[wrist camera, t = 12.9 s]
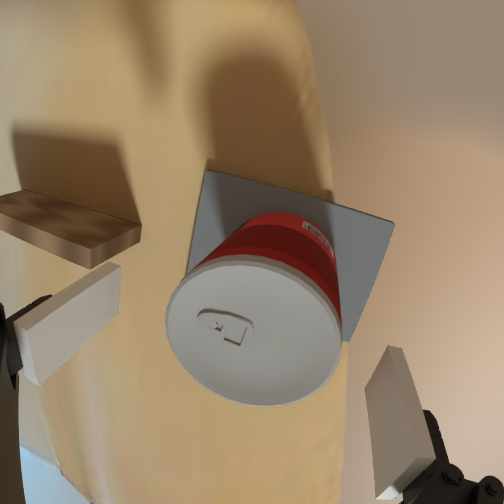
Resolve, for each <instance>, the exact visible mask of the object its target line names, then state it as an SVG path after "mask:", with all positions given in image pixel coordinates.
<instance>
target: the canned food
mask: <svg viewBox="0 0 504 504" xmlns="http://www.w3.org/2000/svg"><path fill="white" fill-rule="evenodd" d="M165 324H166V332H167V337H168V340H169V343H170V346H171V349H172V351H173V353H174V355H175V356H176V358H177V360H178V362H179V363H180V364H181V365H182V367H183V368H184V369H185V370H186V372H187V373H188V374H189V375H190V376H191V377H192V378H194V379H195V380H196V381H197V382H198V383H199V384H201V385H202V386H204V387H205V388H206V389H208V390H209V391H211V392H213V393H215V394H217V395H219V396H221V397H223V398H225V399H228V400H231V401H234V402H237V403H240V404H245V405H251V406H258V407H274V406H282V405H288V404H291V403H295V402H298V401H301V400H303V399H305V398H307V397H309V396H311V395H313V394H314V393H315V392H317V391H318V390H319V389H320V388H322V387H323V386H324V385H325V384H326V383H327V381H328V380H329V379H330V378H331V376H332V375H333V373H334V371H335V369H336V367H337V365H338V362H339V358H340V352H341V346H342V318H341V305H340V294H339V283H338V273H337V264H336V256H335V253H334V250H333V247H332V245H331V243H330V242H329V240H328V238H327V237H326V235H325V234H324V233H323V232H322V231H321V230H320V229H319V228H318V227H317V226H315V225H314V224H313V223H312V222H310V221H308V220H306V219H304V218H302V217H300V216H297V215H294V214H290V213H283V212H272V213H264V214H261V215H258V216H255V217H253V218H251V219H249V220H248V221H246V222H245V223H244V224H242V225H241V226H240V227H239V228H238V229H237V230H236V231H234V232H233V233H232V234H231V235H230V236H229V237H228V238H227V239H225V240H224V241H223V242H222V243H221V244H220V245H219V246H217V247H216V248H215V249H214V250H213V251H212V252H211V253H210V254H209V255H207V256H206V257H205V258H204V259H203V260H202V261H201V262H200V263H199V264H197V265H196V266H195V267H194V268H193V269H192V270H191V271H190V272H189V273H188V274H187V275H186V276H185V277H184V278H183V279H182V281H181V282H180V284H179V285H178V286H177V288H176V289H175V291H174V292H173V294H172V295H171V298H170V301H169V303H168V306H167V310H166V320H165Z"/></svg>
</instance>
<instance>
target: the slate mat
mask: <svg viewBox="0 0 504 504" xmlns="http://www.w3.org/2000/svg"><path fill="white" fill-rule="evenodd" d="M272 212H283V213H290V214H294V215H297V216H300V217H302V218H304V219H306V220H308V221H310V222H312V223H313V224H314V225H315V226H317V227H318V228H319V229H320V230H321V231H322V232H323V233H324V234H325V235H326V237H327V238H328V240H329V242H330V243H331V245H332V247H333V250H334V253H335V256H336V264H337V273H338V283H339V294H340V305H341V318H342V340H343V341H347V342H349V341H350V339H351V337H352V335H353V332H354V330H355V328H356V326H357V323H358V321H359V318H360V316H361V314H362V312H363V309H364V307H365V304H366V302H367V299H368V297H369V294H370V292H371V290H372V287H373V284H374V282H375V279H376V277H377V274H378V271H379V269H380V266H381V263H382V261H383V258H384V255H385V252H386V250H387V247H388V244H389V241H390V238H391V235H392V232H393V229H394V226H395V223H393V222H392V221H389V220H386V219H383V218H380V217H377V216H374V215H371V214H368V213H364V212H361V211H358V210H355V209H352V208H348V207H345V206H342V205H339V204H335V203H332V202H329V201H325V200H322V199H318V198H315V197H311V196H308V195H304V194H301V193H297V192H294V191H290V190H287V189H283V188H279V187H275V186H272V185H268V184H264V183H260V182H256V181H253V180H249V179H245V178H241V177H237V176H233V175H229V174H224V173H220V172H216V171H212V170H206V172H205V176H204V181H203V186H202V191H201V196H200V202H199V207H198V212H197V217H196V223H195V228H194V234H193V240H192V245H191V251H190V257H189V263H188V269H187V274H188V273H189V272H190V271H191V270H192V269H193V268H194V267H195V266H196V265H197V264H199V263H200V262H201V261H202V260H203V259H204V258H205V257H206V256H207V255H209V254H210V253H211V252H212V251H213V250H214V249H215V248H216V247H217V246H219V245H220V244H221V243H222V242H223V241H224V240H225V239H227V238H228V237H229V236H230V235H231V234H232V233H233V232H234V231H236V230H237V229H238V228H239V227H240V226H241V225H242V224H244V223H245V222H246V221H248V220H249V219H251V218H253V217H255V216H258V215H261V214H264V213H272Z"/></svg>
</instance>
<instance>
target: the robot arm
mask: <svg viewBox="0 0 504 504" xmlns="http://www.w3.org/2000/svg"><path fill="white" fill-rule="evenodd" d="M120 278H121V266H120V265H117V264H114V263H111V262H107V263H106V264H104V265H102V266H101V267H99V268H97V269H96V270H94V271H92V272H91V273H89V274H87V275H86V276H84V277H82V278H81V279H79V280H78V281H76V282H74V283H73V284H71V285H70V286H68V287H66V288H65V289H63V290H62V291H60V292H58V293H57V294H55V295H54V296H52V295H47V296H43V297H40V298H38V299H37V300H35V301H34V302H32V304H29V305H27V306H26V307H25V308H23V309H21V310H19V311H18V312H16V313H15V314H13V315H12V316H10V317H9V318H7V319H6V318H5V312H4V306H3V305H2V304H1V303H0V504H26V502H25V496H24V489H23V482H22V473H21V461H20V448H19V425H18V395H19V375H18V371H19V370H20V369H22V368H23V369H24V373H25V377H26V378H27V379H28V380H30V381H31V382H33V383H34V384H36V385H37V386H40V385H41V384H42V383H43V382H44V381H45V380H46V379H48V378H49V377H50V376H51V375H52V374H53V373H54V372H55V371H56V370H57V369H58V368H59V367H60V366H61V365H62V364H64V363H65V362H66V361H67V360H68V359H69V358H70V357H71V356H72V355H73V354H74V353H75V352H77V351H78V350H79V349H80V348H81V347H82V346H83V345H84V344H85V343H86V342H88V341H89V340H90V339H91V338H92V337H93V336H94V335H95V334H96V333H97V332H99V331H100V330H101V329H102V328H103V327H104V326H105V325H106V324H108V323H109V322H110V321H111V320H112V319H113V318H114V317H115V316H117V315H118V314H119V297H120ZM365 395H366V402H367V410H368V417H369V426H370V436H371V445H372V455H373V467H374V480H375V495H376V499H385V500H386V499H387V500H393V499H395V498H396V497H397V496H398V495H399V494H400V493H401V492H402V494H403V501H401V502H400V503H399V504H503V502H504V487H503V484H502V483H501V481H500V480H499V479H497V478H496V477H494V476H486V477H484V478H483V479H482V480H481V481H480V482H479V483H476V482H473V481H470V480H466V479H464V475H463V473H462V471H461V470H460V469H459V468H458V467H457V466H455V465H453V464H450V463H449V459H448V456H447V453H446V449H445V446H444V442H443V439H442V438H441V437H442V436H441V433H440V431H439V426H438V423H437V420H436V418H435V417H434V416H433V414H432V413H431V412H430V411H429V410H422V407H421V404H420V401H419V397H418V395H417V391H416V388H415V385H414V382H413V379H412V376H411V373H410V370H409V367H408V364H407V361H406V358H405V356H404V353H403V350H402V348H398V347H394V346H390V345H388V346H387V348H386V350H385V352H384V354H383V356H382V358H381V360H380V361H379V363H378V365H377V367H376V369H375V371H374V373H373V374H372V377H371V378H370V380H369V382H368V383H367V385H366V387H365Z"/></svg>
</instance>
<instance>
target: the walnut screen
mask: <svg viewBox="0 0 504 504" xmlns="http://www.w3.org/2000/svg"><path fill="white" fill-rule="evenodd" d="M141 227H142V225H139V224H136V223H133V222H129V221H126V220H123V219H120V218H116V217H113V216H110V215H106V214H103V213H100V212H96V211H93V210H90V209H87V208H83V207H80V206H77V205H73V204H70V203H67V202H64V201H60V200H57V199H54V198H51V197H47V196H44V195H41V194H38V193H34V192H31V191H28V190H22V191H17V192H13V193H9V194H5V195H2V196H0V230H2V231H4V232H7V233H9V234H11V235H13V236H15V237H17V238H19V239H21V240H23V241H26V242H28V243H30V244H32V245H34V246H37V247H39V248H41V249H43V250H45V251H48V252H50V253H52V254H54V255H57V256H59V257H61V258H64V259H66V260H68V261H71V262H73V263H75V264H78V265H80V266H83V267H85V268H87V269H92V268H94V267H95V266H97V265H99V264H101V263H102V262H104V261H106V260H108V259H110V258H111V257H113V256H115V255H117V254H118V253H120V252H122V251H124V250H126V249H128V248H129V247H131V246H133V245H135V244H137V243H139V242H140V236H141Z"/></svg>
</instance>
